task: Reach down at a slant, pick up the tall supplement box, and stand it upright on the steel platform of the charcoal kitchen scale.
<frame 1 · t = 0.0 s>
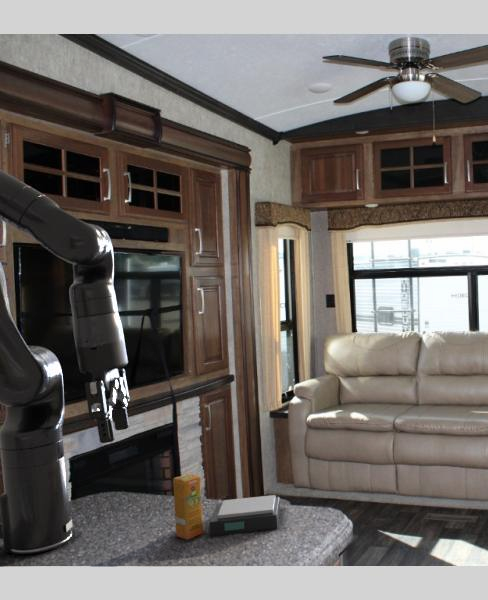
hand: (115, 435, 114), 17 cm above the countertop, tool pointing down, fingers open, 8 cm apart
scale: (246, 522, 117), on the countertop
supplement box: (190, 536, 113), on the countertop
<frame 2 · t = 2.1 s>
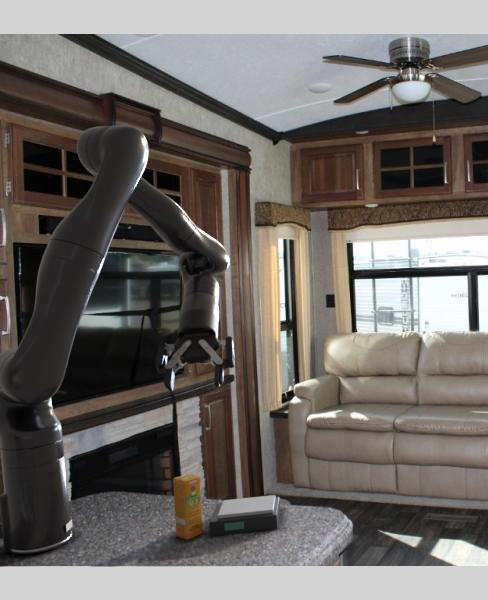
hand: (193, 386, 124), 23 cm above the countertop, tool tilted 45°, fingers open, 8 cm apart
nothing on the countertop moved.
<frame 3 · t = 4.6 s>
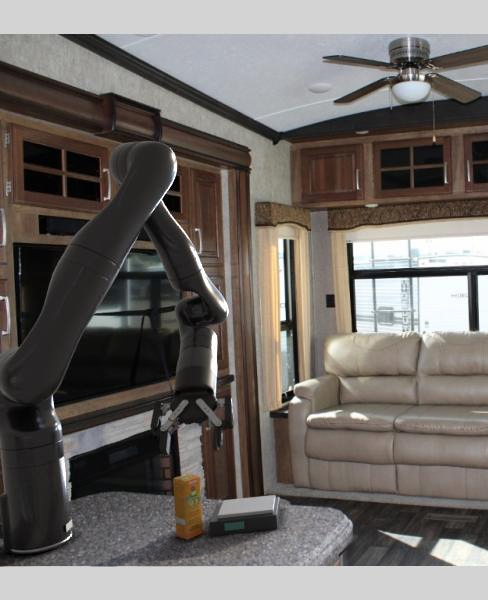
hand: (190, 451, 118), 13 cm above the countertop, tool tilted 45°, fingers open, 8 cm apart
nothing on the countertop moved.
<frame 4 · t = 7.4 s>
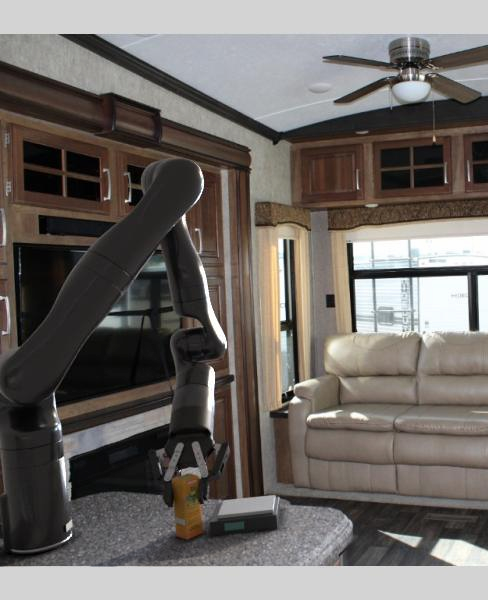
hand: (185, 503, 110), 6 cm above the countertop, tool tilted 45°, fingers closed on supplement box, 4 cm apart
supplement box: (190, 536, 113), on the countertop, touching gripper
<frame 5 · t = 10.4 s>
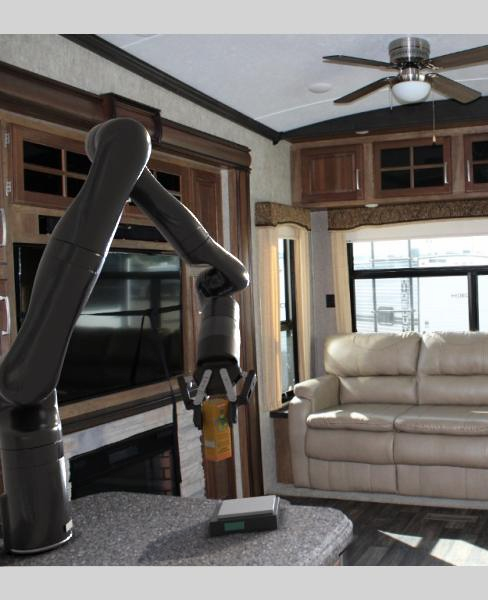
hand: (215, 425, 112), 18 cm above the countertop, tool tilted 45°, fingers closed on supplement box, 4 cm apart
supplement box: (219, 459, 115), point 12 cm above the countertop, touching gripper
when the fingers open (9 cm above the countertop, at t = 13.8 s): supplement box stays where it is, resting on scale.
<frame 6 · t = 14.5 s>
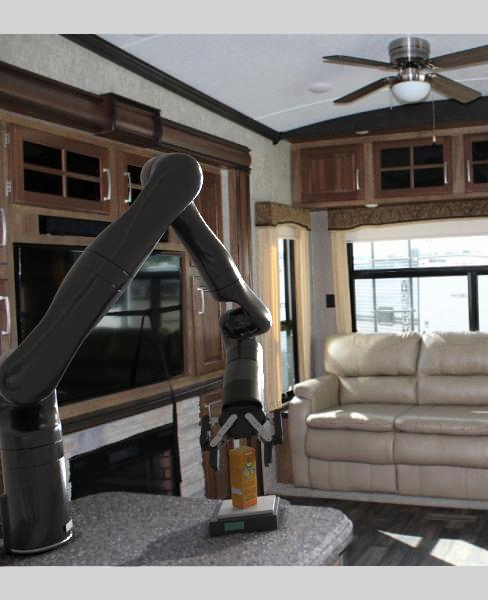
hand: (241, 467, 115), 10 cm above the countertop, tool tilted 45°, fingers open, 8 cm apart
supplement box: (245, 506, 117), point 3 cm above the countertop, touching scale
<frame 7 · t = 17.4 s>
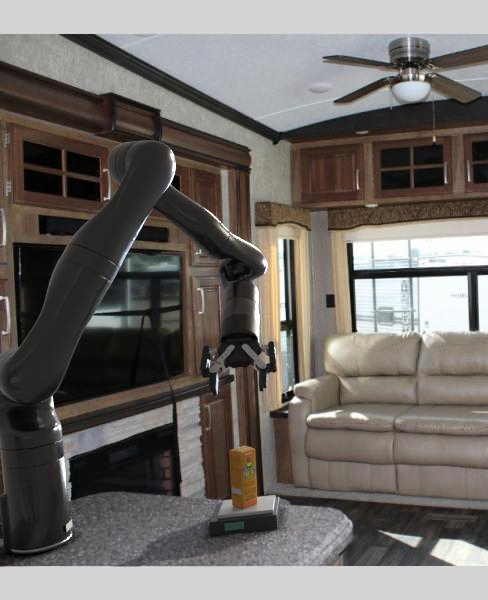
hand: (238, 390, 125), 21 cm above the countertop, tool tilted 45°, fingers open, 8 cm apart
nothing on the countertop moved.
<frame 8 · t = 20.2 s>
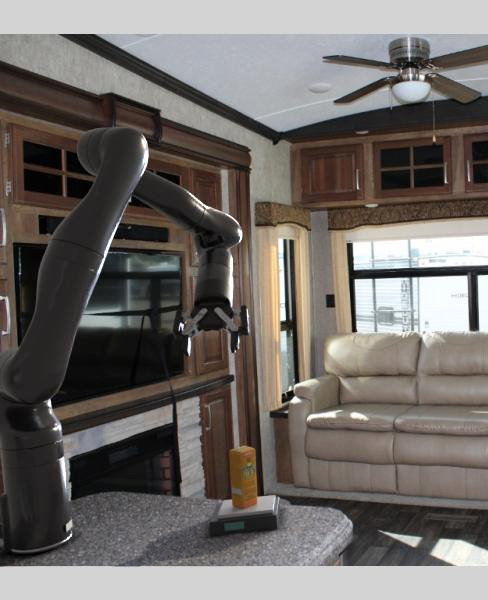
hand: (210, 352, 127), 29 cm above the countertop, tool tilted 45°, fingers open, 8 cm apart
nothing on the countertop moved.
at the end: supplement box inside the target area on the scale (0.3 cm from its centre), point 2.8 cm above the scale's base; supplement box tilted 0°; the gripper is holding nothing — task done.
